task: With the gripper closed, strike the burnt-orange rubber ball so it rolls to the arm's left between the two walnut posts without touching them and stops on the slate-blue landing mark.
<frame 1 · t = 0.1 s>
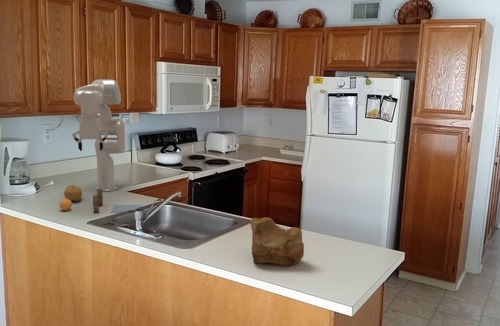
hand: (91, 150, 236), 31 cm above the worktop, tool pointing down, fingers open, 9 cm apart
inner post: (100, 205, 249), on the worktop
rough brown rock: (269, 261, 179), on the worktop
landing mark: (126, 208, 245), on the worktop
outer post: (96, 213, 237), on the worktop
potato: (73, 201, 259), on the worktop
ball: (65, 204, 240), on the worktop
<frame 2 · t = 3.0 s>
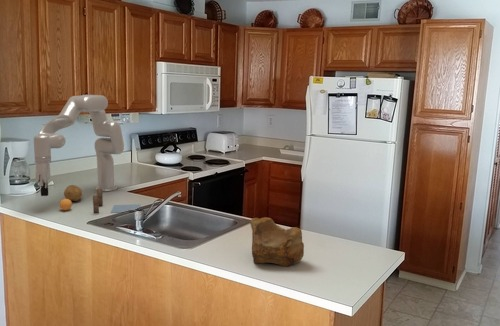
hand: (44, 195, 237), 8 cm above the worktop, tool pointing down, fingers closed
nothing on the worktop moved.
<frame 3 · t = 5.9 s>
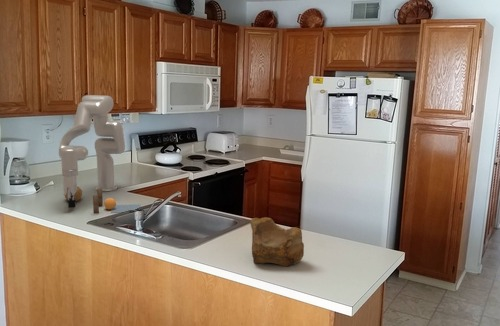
hand: (72, 207, 241), 2 cm above the worktop, tool pointing down, fingers closed
ball: (110, 203, 243), on the worktop
everything else where it was.
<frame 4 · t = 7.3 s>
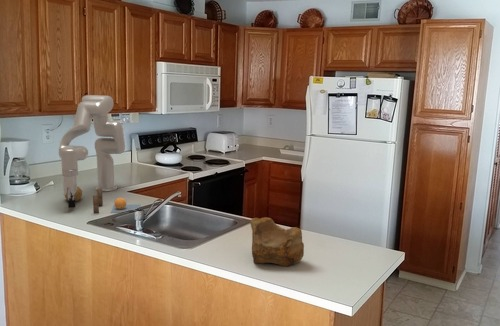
hand: (72, 207, 241), 2 cm above the worktop, tool pointing down, fingers closed
ball: (120, 203, 244), on the worktop
everything else where it was.
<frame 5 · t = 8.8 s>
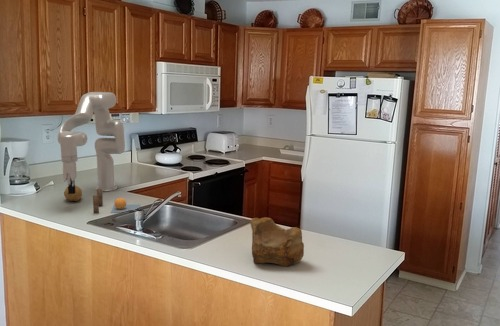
hand: (71, 193, 240), 9 cm above the worktop, tool pointing down, fingers closed
nothing on the worktop moved.
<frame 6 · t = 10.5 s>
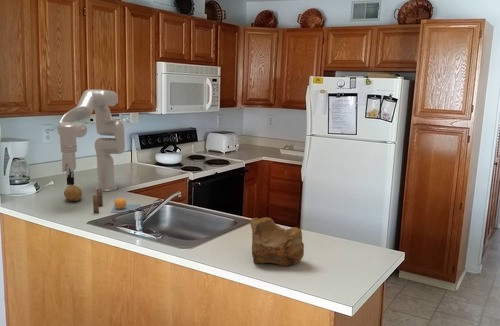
hand: (70, 184, 238), 13 cm above the worktop, tool pointing down, fingers closed
nothing on the worktop moved.
at the end: ball 2.8 cm from the landing mark (horizontally); ball never touched inner post; ball never touched outer post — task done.
